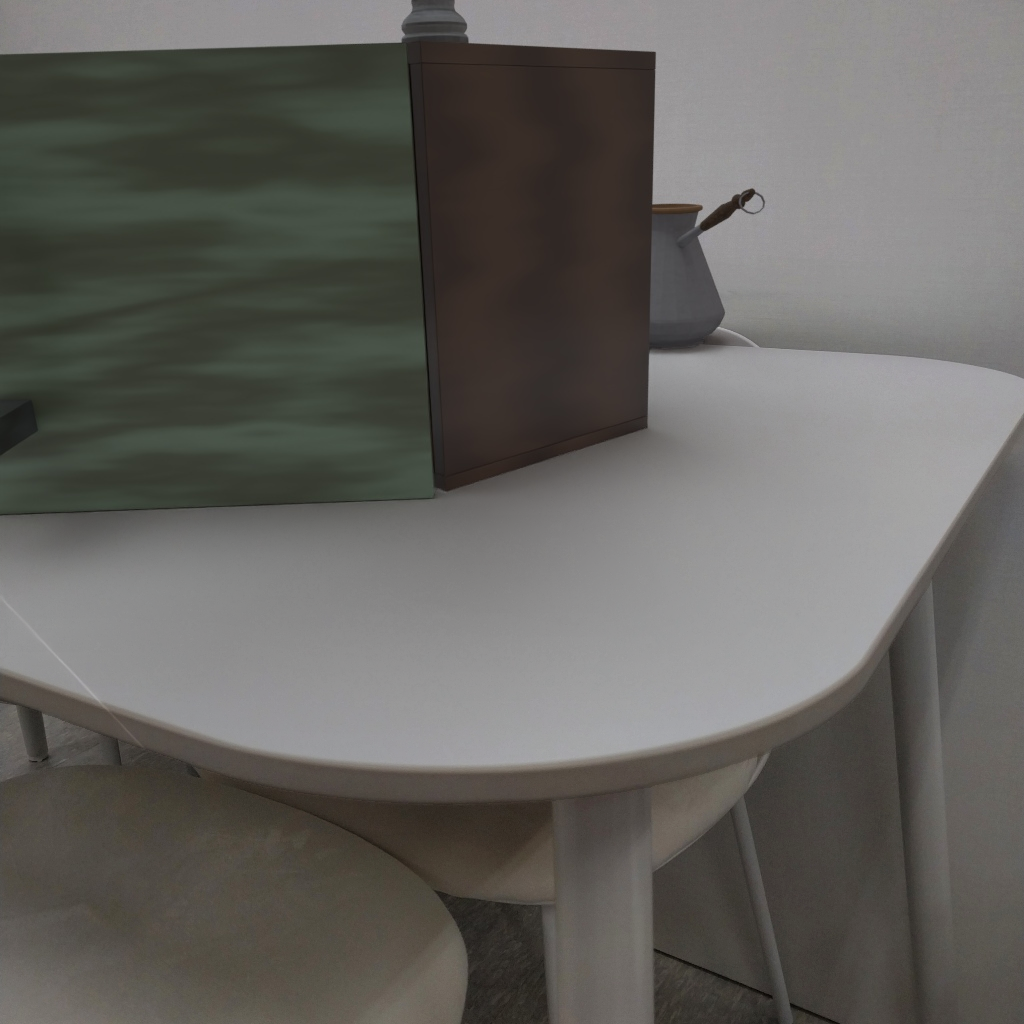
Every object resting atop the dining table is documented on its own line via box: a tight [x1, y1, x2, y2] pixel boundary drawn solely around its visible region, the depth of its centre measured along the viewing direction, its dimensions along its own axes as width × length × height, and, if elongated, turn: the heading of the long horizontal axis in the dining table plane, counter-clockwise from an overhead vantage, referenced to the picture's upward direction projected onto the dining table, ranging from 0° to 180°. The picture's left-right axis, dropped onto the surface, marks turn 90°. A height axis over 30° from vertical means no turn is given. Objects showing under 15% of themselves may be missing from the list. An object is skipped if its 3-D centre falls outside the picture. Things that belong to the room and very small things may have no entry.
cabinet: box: [406, 41, 657, 493], centre depth 67 cm, size 18×26×24 cm
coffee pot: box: [649, 188, 766, 350], centre depth 89 cm, size 21×12×15 cm, turn 17°
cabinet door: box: [0, 41, 436, 515], centre depth 49 cm, size 8×26×24 cm, turn 92°
